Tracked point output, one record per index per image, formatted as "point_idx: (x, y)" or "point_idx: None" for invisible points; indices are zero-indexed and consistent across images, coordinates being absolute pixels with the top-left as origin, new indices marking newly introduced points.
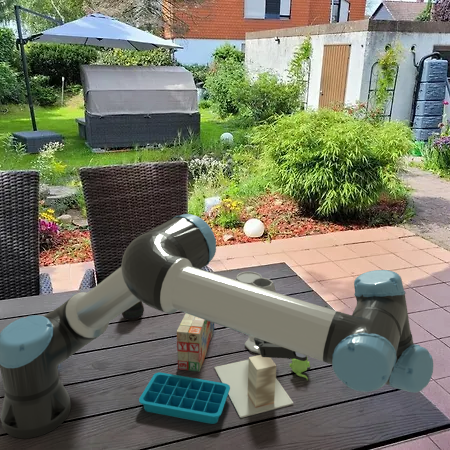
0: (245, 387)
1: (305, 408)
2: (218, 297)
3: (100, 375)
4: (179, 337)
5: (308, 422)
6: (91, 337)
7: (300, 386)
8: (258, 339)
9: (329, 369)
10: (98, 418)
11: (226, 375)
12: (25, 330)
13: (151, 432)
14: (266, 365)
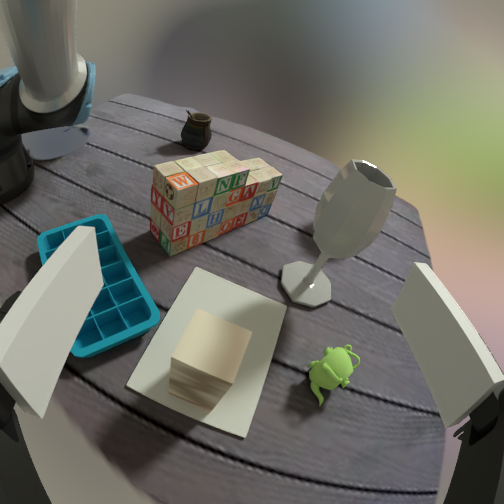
0: None
1: (256, 460)
2: None
3: (78, 179)
4: (155, 179)
5: (230, 489)
6: (31, 110)
7: (295, 410)
8: (2, 319)
9: (371, 406)
10: (14, 224)
11: (195, 294)
12: None
13: (18, 288)
14: (208, 364)
